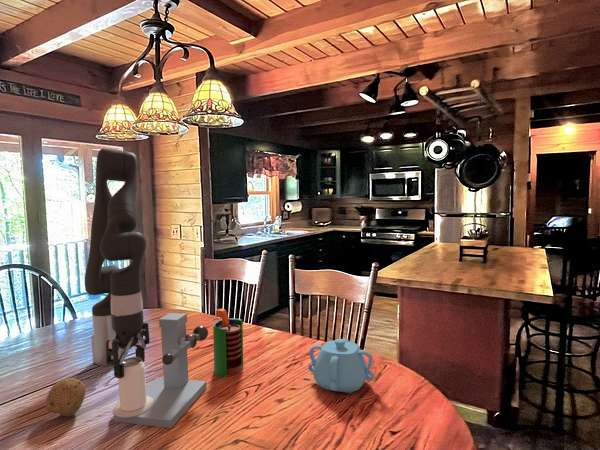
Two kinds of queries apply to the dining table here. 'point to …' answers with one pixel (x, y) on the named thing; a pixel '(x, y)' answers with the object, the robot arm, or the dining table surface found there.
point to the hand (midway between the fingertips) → (130, 369)
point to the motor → (227, 345)
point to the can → (132, 385)
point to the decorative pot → (340, 366)
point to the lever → (186, 344)
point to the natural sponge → (66, 397)
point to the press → (167, 383)
